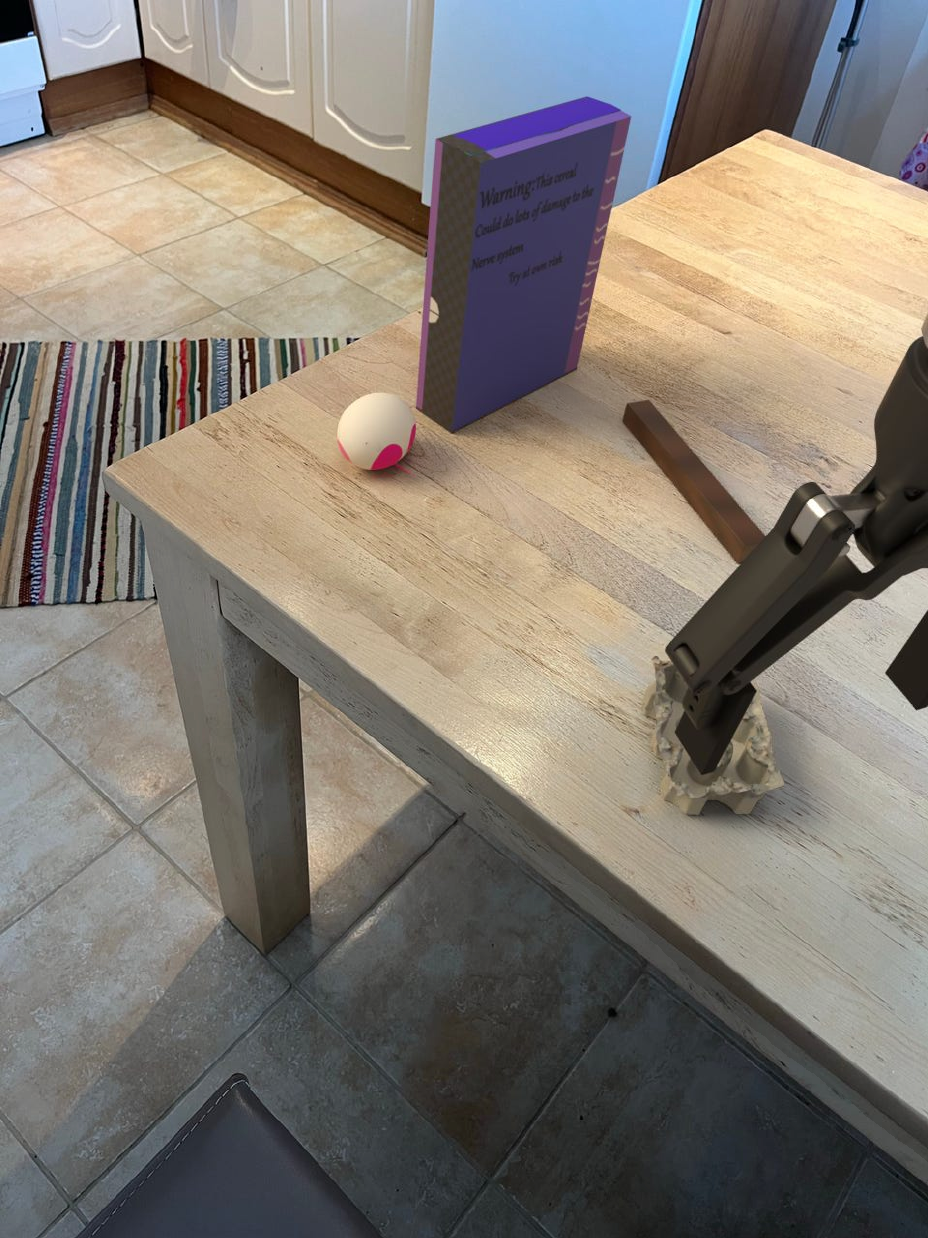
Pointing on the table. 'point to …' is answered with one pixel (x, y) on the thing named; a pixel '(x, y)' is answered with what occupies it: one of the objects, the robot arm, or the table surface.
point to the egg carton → (740, 768)
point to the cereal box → (514, 255)
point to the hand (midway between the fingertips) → (804, 720)
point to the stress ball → (376, 431)
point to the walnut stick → (693, 480)
